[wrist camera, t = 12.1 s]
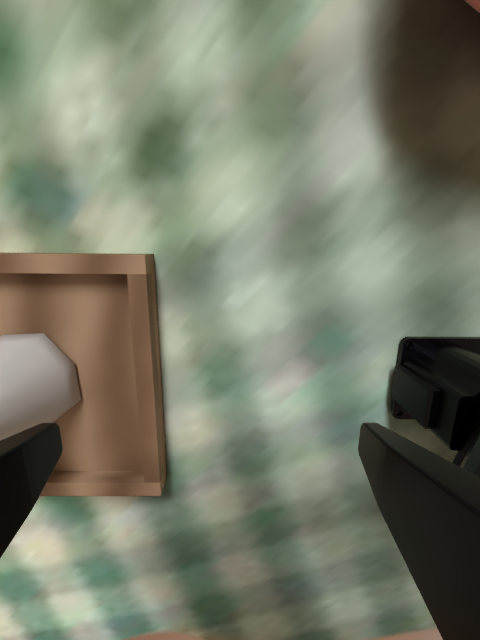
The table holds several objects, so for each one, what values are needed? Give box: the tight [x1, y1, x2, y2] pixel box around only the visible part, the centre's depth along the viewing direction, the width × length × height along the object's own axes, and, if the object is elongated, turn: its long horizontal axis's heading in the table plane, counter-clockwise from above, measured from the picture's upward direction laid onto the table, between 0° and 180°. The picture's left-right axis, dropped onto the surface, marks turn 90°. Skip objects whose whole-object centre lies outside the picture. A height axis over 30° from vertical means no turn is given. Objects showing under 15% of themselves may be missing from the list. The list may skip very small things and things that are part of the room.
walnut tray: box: [0, 253, 167, 496], centre depth 21 cm, size 18×18×2 cm
